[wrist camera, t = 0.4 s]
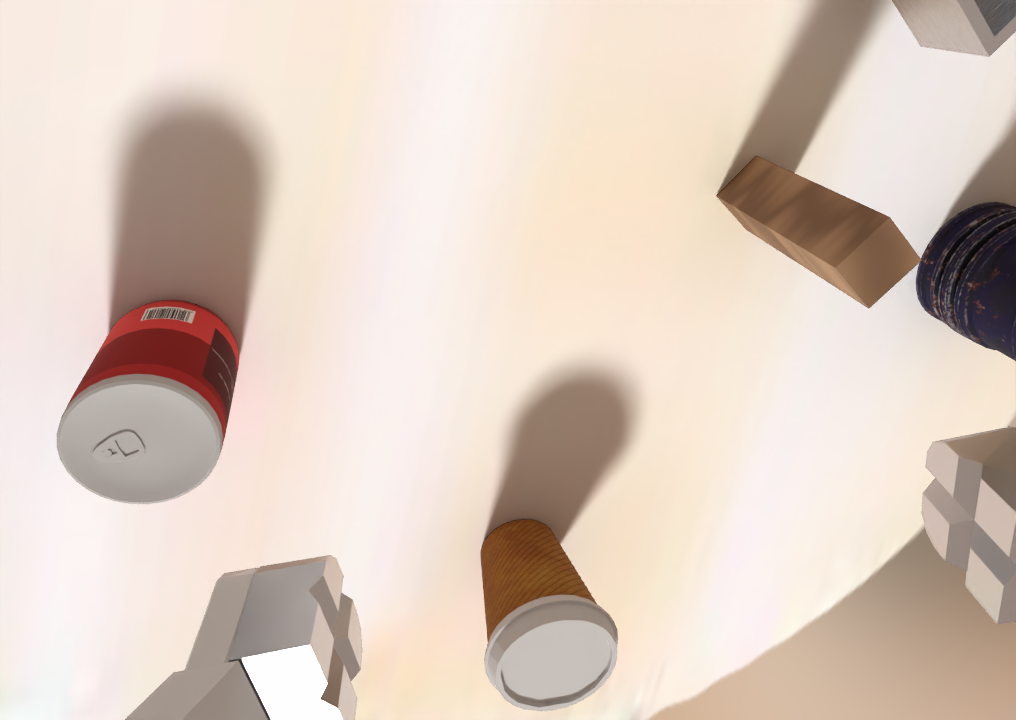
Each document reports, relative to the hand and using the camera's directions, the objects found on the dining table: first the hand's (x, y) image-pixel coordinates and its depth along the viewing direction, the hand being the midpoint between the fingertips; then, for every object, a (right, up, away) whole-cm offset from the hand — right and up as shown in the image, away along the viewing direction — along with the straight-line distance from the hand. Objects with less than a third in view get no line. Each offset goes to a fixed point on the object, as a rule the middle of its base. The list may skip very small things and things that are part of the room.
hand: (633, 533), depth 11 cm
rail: (+15, +14, +42) cm, 47 cm away
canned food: (-23, +3, +39) cm, 45 cm away
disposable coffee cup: (-1, -13, +53) cm, 54 cm away
